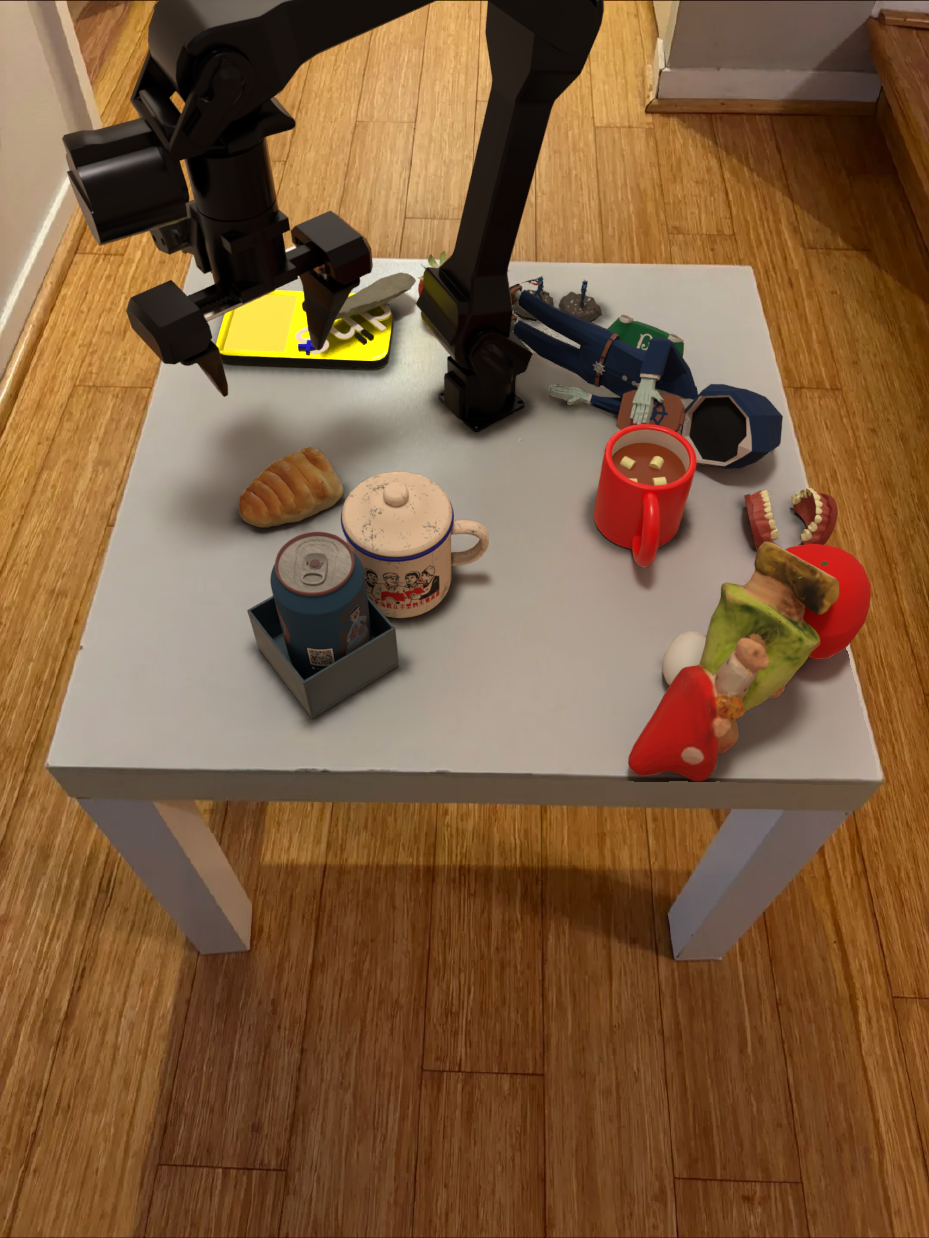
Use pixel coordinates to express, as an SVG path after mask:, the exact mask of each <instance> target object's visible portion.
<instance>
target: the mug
mask: <svg viewBox="0 0 929 1238" xmlns="http://www.w3.org/2000/svg"><path fill="white" fill-rule="evenodd" d="M697 465H698V464H697V457H696V454H695V451H694V449H693V447H692V445H691V444H690V443H689V442H688V441H687V440H686V438H684V437H683V436H682V435H680V433H679V432H675V431H673V430H672V429H669V428H666V427H664V426H659V425H653V424H637V425H633V426H629V427H626V428H623V429H621V430H620V429H619V430H617V431H616V432H615V433H614V434H613V435H612V436H611V437H610V438H609V439H608V441H607V442H606V444H605V447H604V451H603V457H602V462H601V468H600V475H599V480H598V484H597V491H596V497H595V501H594V502H595V503H594V507H593V518H594V522H595V525H596V527H597V529H598V530H599V531H600V533H601V534H602V535H604V537H605V538H606V539H607V540H609V541H611V542H612V543H614V544H616V545H618V546H620V547H623V548H627V549H631V552H632V556H633V560H634V563H636V564H637V565H638V566H639V567H642V568H645V567H646V568H647V567H649V566H651V564H653V562H654V561H655V559H656V556H657V552H658V548H659V547H661V546H664V545H666V544H667V543H668V542H671V540H672V539H673V538H674V537H675V536H676V534H677V532H679V529H680V525H681V521H682V519H683V514H684V512H685V509H686V504H687V500H688V497H689V493H690V490H691V487H692V484H693V480H694V476H695V473H696V469H697Z"/></svg>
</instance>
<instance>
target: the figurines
mask: <svg viewBox="0 0 929 1238" xmlns="http://www.w3.org/2000/svg"><path fill="white" fill-rule="evenodd" d="M526 283H528V284H531V285H533V286H537V288H536V290H534V289H525V290H526V291H528V292H530V293H531V294H533V295H535V296H536V297H538V298H540V299H541V300H543V301H544V302H546V303H548V304H549V305H551V306H553V307H554V305H555V302H554V297H552V296H550V292H548V291H546V290H544V277H543V275H541V276H539V277H537V278H532V279H528V280H526V281H524V282H521V283H520V285H521V284H526ZM588 283H589V281H588V280H586V279H583V281H581V288H580V293H575V292H574V291H570V292H569V293H567V295H564V296H562V298H561V299H560V300H559V302H558V305H557V306H558V308H559V310H561V311H563V312H566V313H568V314H571V315H573V316H576V317H579V318H581V319H584V320H586V321H589V322H592V321H593V320H597V319H598V318H599V317H601V316H603V311H602V308H601V306H600V305H599V304H598V303H597V302H596V300H595V298H594V297H592V296H588V295H587V294H586V293H587V292H588V290H587V289H588ZM512 306H513V311H515V312H516V313H517V314H519V315H520V316H521V317H523V318H529V319H532V320H537V319H536V318H535V317H534V316H532V315H531V314H530V313H528V312H527V311H526V310H524V309H523V308H522V307H520V306H519V302H518V301H517V302H515V303H514V304H513V305H512Z"/></svg>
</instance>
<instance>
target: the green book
mask: <svg viewBox="0 0 929 1238" xmlns="http://www.w3.org/2000/svg"><path fill="white" fill-rule="evenodd" d="M607 329H609V330H610V331H612V332H613V333H615V334H617V335H619V337H620V341H623V342H625V343H627V344H629V345H631V346H633V347H636V348H639V349H642V350H644V351H647V348H648V345H649V342H650V340H651V339H652V338H653V337H654V338H664V339H670V340H671V341H672V342H673V344H674V345H675V347H676V348H677V350H678V351H679V353H680V354H681V356H682V357H683V358H684V351H685V342H684V341H685V340H684V339H683V338H682V337H681V336H680V335H679V334H677V333H674V332H670V333H669V332H667V331H665V330H662V329H660V328H658V327H656V326H652V325H650V324H648V323H645V322H642V321H638V320H634V317H632V316H631V315H628V314H625V313H622V314H620V316H619V317H617V318H616V319H615V321H613V322H612V323H611V325H610V326H608V328H607Z"/></svg>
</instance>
